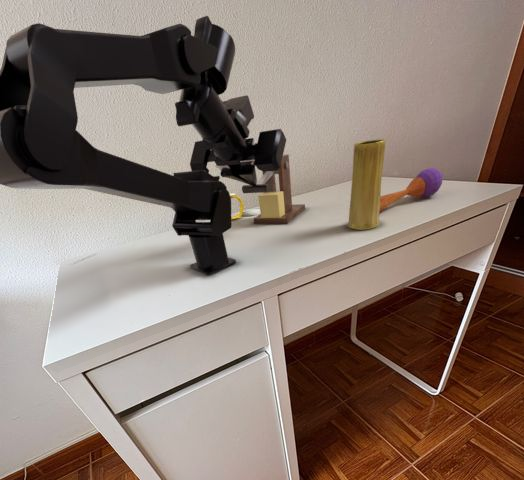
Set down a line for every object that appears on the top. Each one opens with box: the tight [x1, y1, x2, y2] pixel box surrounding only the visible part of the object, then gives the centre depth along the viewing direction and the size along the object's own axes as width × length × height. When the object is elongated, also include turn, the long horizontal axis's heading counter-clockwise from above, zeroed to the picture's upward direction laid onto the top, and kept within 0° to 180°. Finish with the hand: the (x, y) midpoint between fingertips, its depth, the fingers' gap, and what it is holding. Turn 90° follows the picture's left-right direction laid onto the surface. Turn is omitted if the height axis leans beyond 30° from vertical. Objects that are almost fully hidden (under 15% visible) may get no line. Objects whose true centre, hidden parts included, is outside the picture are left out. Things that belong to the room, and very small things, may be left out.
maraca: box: [379, 167, 444, 212], centre depth 67 cm, size 6×6×20 cm
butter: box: [257, 190, 285, 218], centre depth 69 cm, size 3×5×5 cm, turn 63°
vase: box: [347, 138, 386, 231], centre depth 56 cm, size 6×6×14 cm
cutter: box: [253, 154, 306, 225], centre depth 70 cm, size 12×9×13 cm
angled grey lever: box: [241, 170, 278, 194], centre depth 65 cm, size 13×6×2 cm, turn 154°
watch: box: [229, 193, 245, 221], centre depth 77 cm, size 6×3×6 cm, turn 125°
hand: (255, 183), depth 61 cm, fingers closed, pressing on angled grey lever
